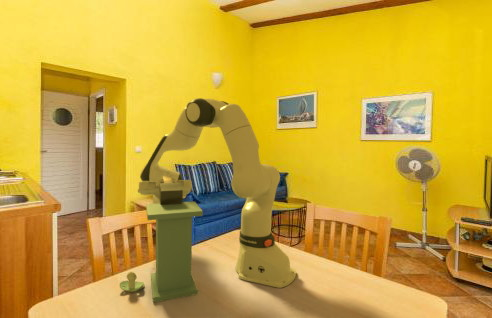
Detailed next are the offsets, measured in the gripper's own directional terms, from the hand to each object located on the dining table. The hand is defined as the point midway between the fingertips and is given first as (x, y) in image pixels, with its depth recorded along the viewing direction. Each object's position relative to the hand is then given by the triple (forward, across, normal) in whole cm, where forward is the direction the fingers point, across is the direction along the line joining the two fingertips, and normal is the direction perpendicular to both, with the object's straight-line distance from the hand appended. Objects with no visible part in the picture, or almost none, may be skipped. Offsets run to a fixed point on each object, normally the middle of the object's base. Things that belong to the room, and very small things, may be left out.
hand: (167, 180), depth 104 cm
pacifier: (-2, -12, +36) cm, 38 cm away
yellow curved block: (+2, 0, +5) cm, 6 cm away
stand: (0, 0, +37) cm, 37 cm away
